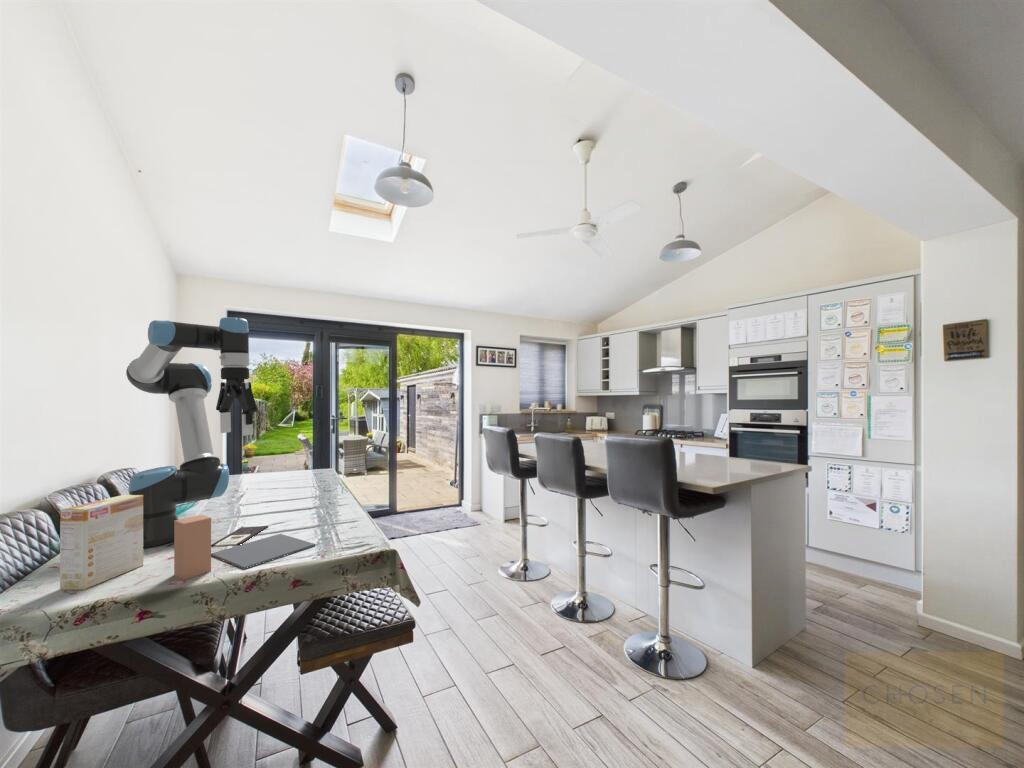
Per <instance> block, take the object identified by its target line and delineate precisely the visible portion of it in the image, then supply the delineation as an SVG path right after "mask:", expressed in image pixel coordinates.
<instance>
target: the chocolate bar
mask: <svg viewBox="0 0 1024 768" xmlns="http://www.w3.org/2000/svg"><path fill="white" fill-rule="evenodd" d="M268 528H269V525H261V526H259V525H258V526H245V527H244V526H241V527H240V528H238V529H236V530H234V531H232V532H231V533H229V534H228V535H225V536H224V537H222V538H221V539H218V540H217V541H215V542H213V543H211V548H214V547H213V546H218V547H230V546H229V545H234V546H239V545H240V544H243V543H244V542H245V543H247V542H248V541H250V540H251V539H253V538H254V537H256V536H257V535H259V534H260V533H262V532H263V531H265V530H267V529H268ZM261 531H262V532H261ZM258 533H259V534H258ZM255 535H256V536H255ZM253 536H254V537H253ZM252 537H253V538H252ZM250 538H251V539H250ZM249 539H250V540H249ZM247 540H248V541H247ZM246 541H247V542H246ZM245 543H244V544H245Z"/></svg>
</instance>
